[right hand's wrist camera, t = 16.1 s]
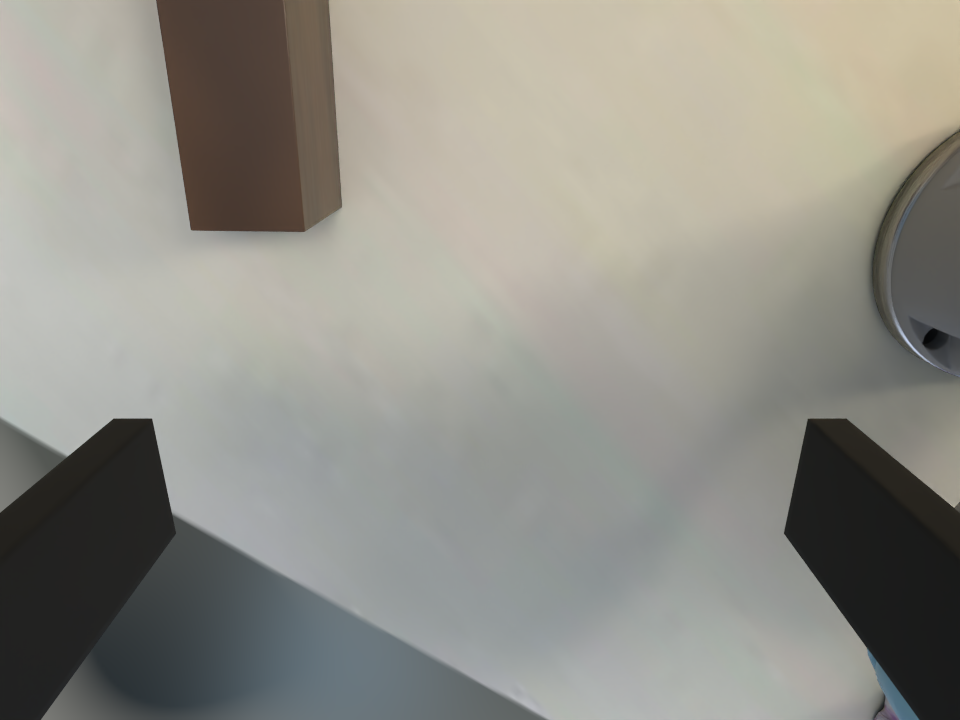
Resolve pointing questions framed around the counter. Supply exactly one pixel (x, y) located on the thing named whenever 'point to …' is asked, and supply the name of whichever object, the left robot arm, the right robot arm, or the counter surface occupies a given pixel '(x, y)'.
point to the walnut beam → (253, 111)
